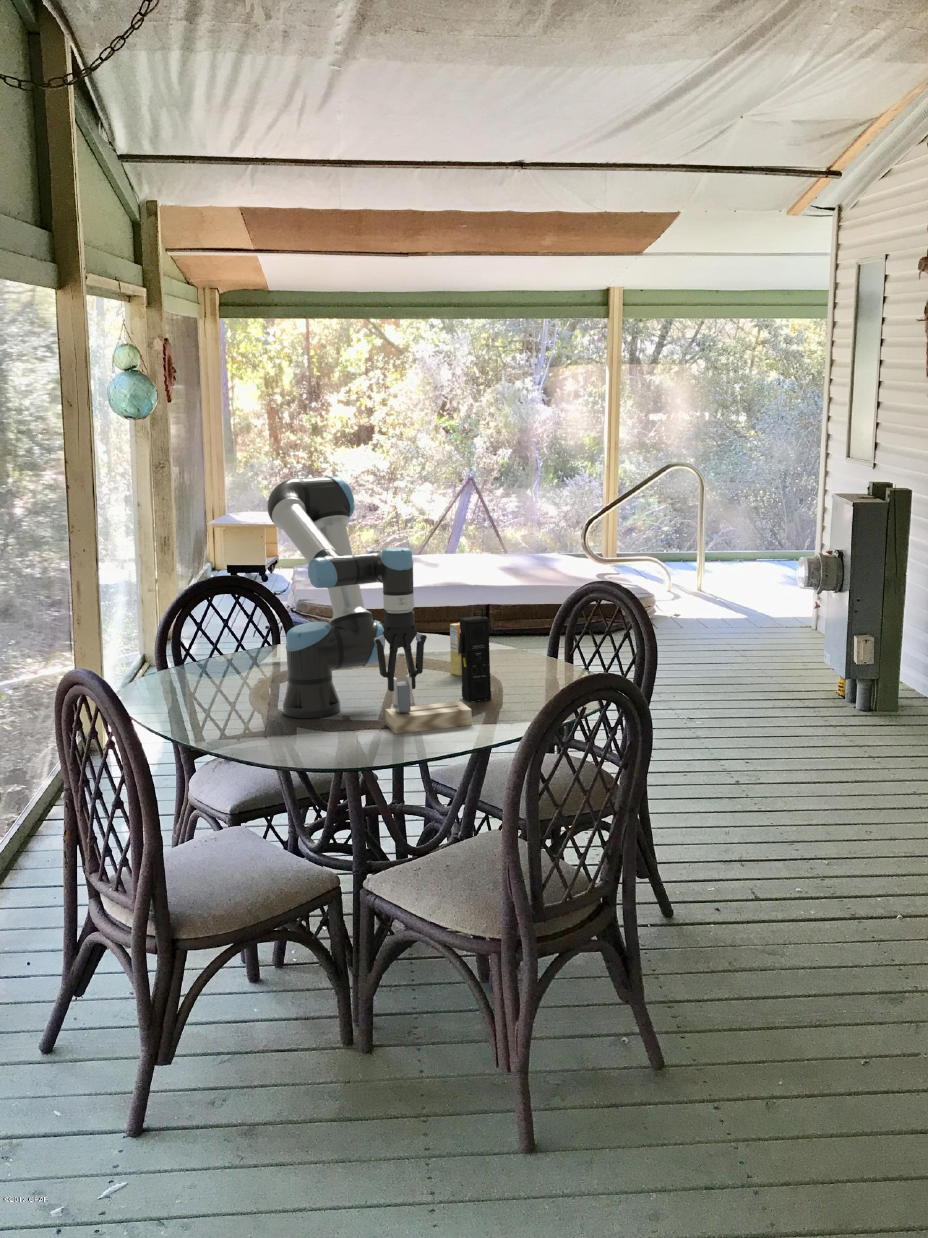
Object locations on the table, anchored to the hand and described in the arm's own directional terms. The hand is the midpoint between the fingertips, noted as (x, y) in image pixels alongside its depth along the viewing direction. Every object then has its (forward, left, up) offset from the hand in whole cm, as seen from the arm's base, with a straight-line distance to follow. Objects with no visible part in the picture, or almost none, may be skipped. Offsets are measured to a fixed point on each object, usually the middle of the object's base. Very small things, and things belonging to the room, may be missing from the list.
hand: (402, 702), depth 288 cm
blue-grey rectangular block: (0, 0, -2) cm, 2 cm away
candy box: (+34, +50, -7) cm, 61 cm away
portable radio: (+26, +19, -7) cm, 33 cm away
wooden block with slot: (+7, 0, -7) cm, 9 cm away
